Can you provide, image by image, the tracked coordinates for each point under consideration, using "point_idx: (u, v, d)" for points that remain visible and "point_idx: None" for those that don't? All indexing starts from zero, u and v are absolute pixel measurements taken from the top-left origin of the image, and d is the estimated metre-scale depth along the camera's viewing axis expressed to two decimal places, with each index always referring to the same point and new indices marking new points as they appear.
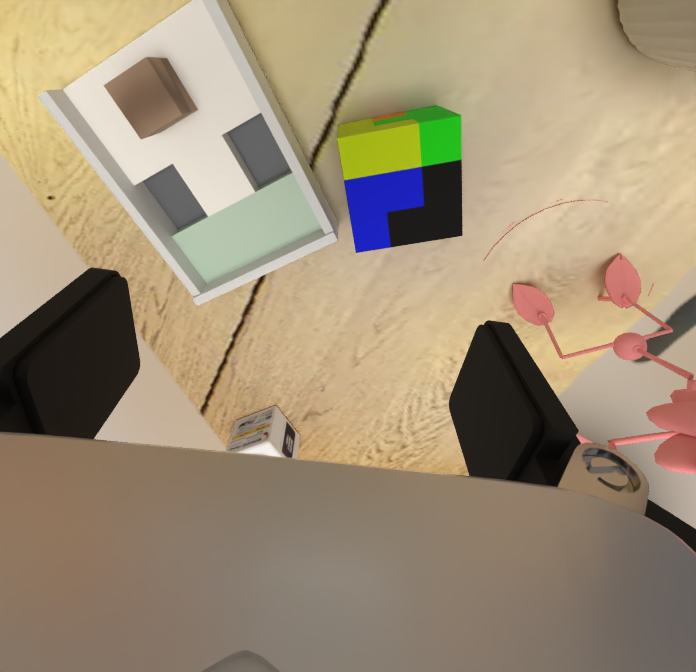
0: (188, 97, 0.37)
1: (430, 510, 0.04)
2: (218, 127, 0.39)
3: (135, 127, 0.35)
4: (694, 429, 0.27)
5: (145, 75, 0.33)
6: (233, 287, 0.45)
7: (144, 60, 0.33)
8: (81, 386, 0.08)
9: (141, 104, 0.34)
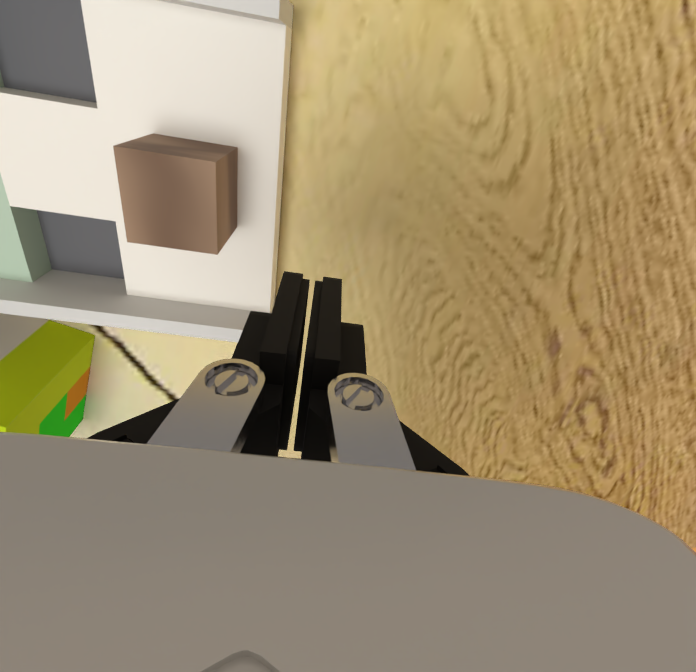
0: None
1: (430, 510, 0.04)
2: None
3: (135, 154, 0.18)
4: None
5: (197, 234, 0.20)
6: None
7: (214, 248, 0.21)
8: (296, 373, 0.10)
9: (163, 195, 0.19)
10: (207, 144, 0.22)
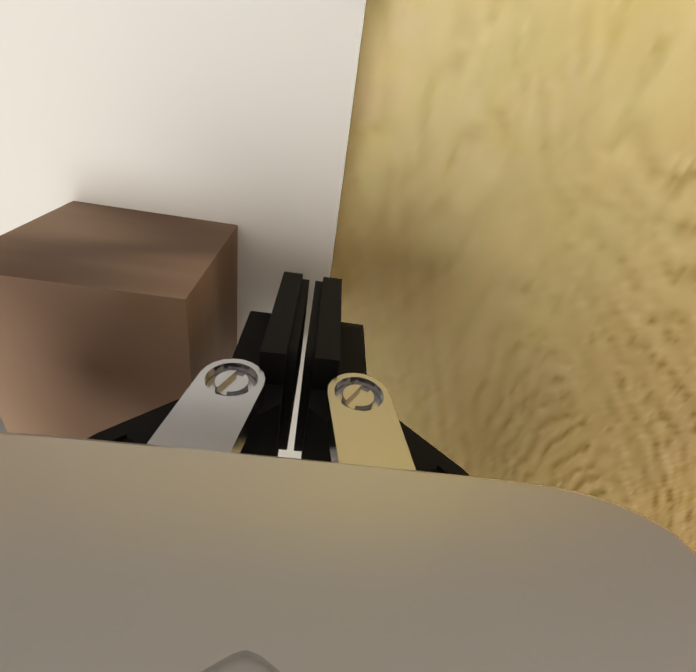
0: None
1: (429, 510, 0.04)
2: None
3: None
4: None
5: None
6: None
7: None
8: (296, 373, 0.10)
9: (73, 360, 0.09)
10: (178, 224, 0.11)
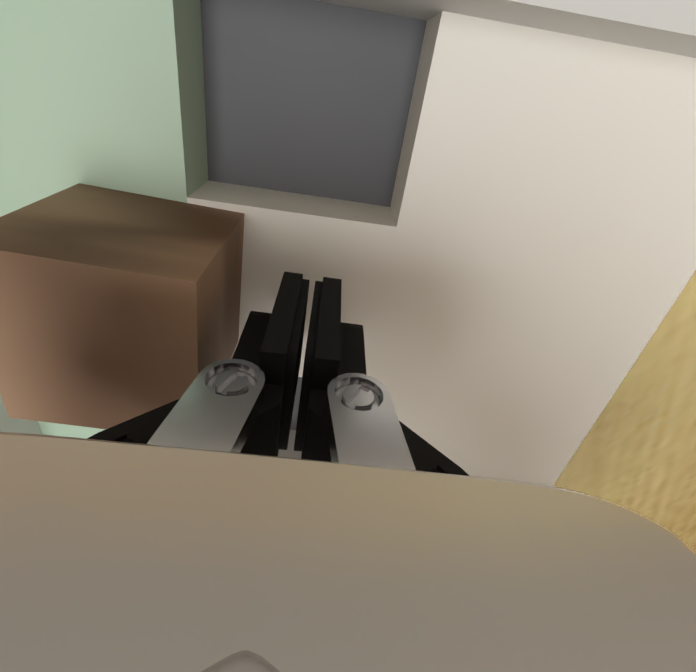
0: None
1: (430, 510, 0.04)
2: None
3: (2, 261, 0.08)
4: None
5: None
6: None
7: None
8: (296, 373, 0.10)
9: (79, 341, 0.09)
10: (185, 210, 0.11)
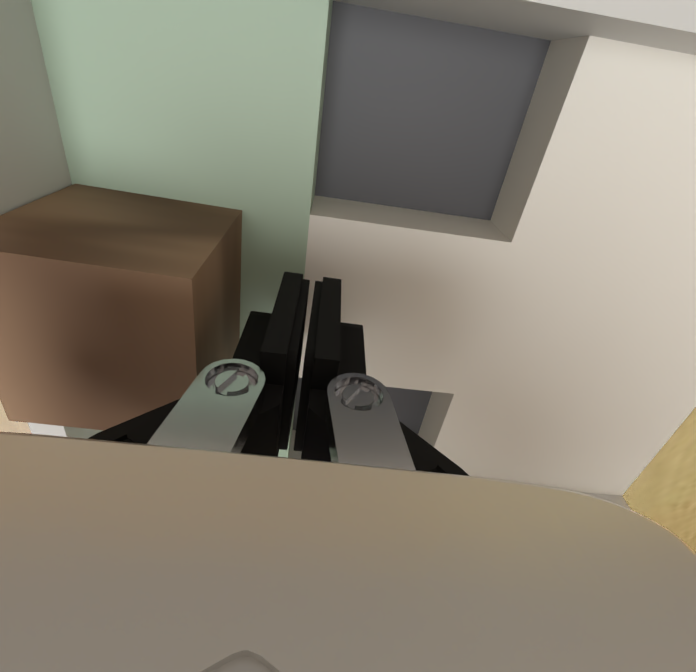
0: None
1: (429, 510, 0.04)
2: (470, 396, 0.15)
3: None
4: None
5: None
6: None
7: None
8: None
9: (76, 342, 0.09)
10: (182, 208, 0.11)
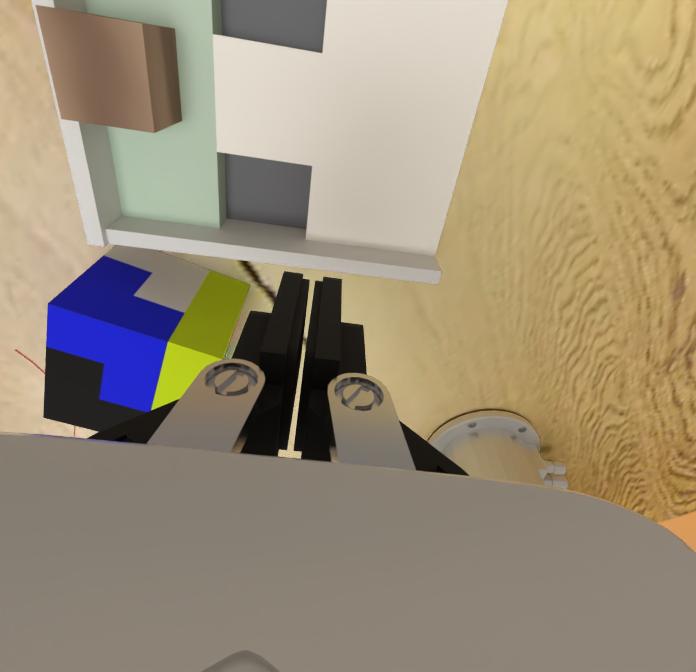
0: None
1: (429, 510, 0.04)
2: (322, 168, 0.26)
3: (59, 15, 0.18)
4: None
5: (131, 109, 0.20)
6: None
7: (151, 126, 0.21)
8: (296, 373, 0.10)
9: (93, 63, 0.19)
10: None
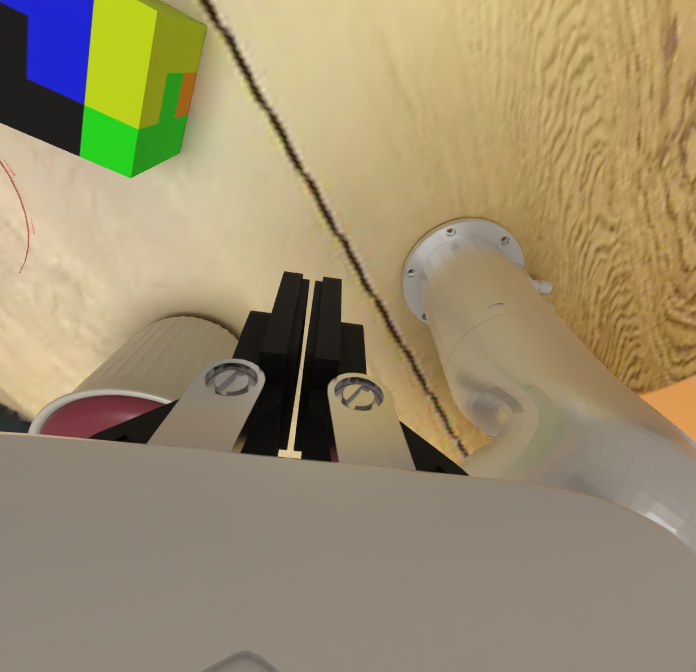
0: None
1: (430, 511, 0.04)
2: None
3: None
4: None
5: None
6: None
7: None
8: (296, 373, 0.10)
9: None
10: None
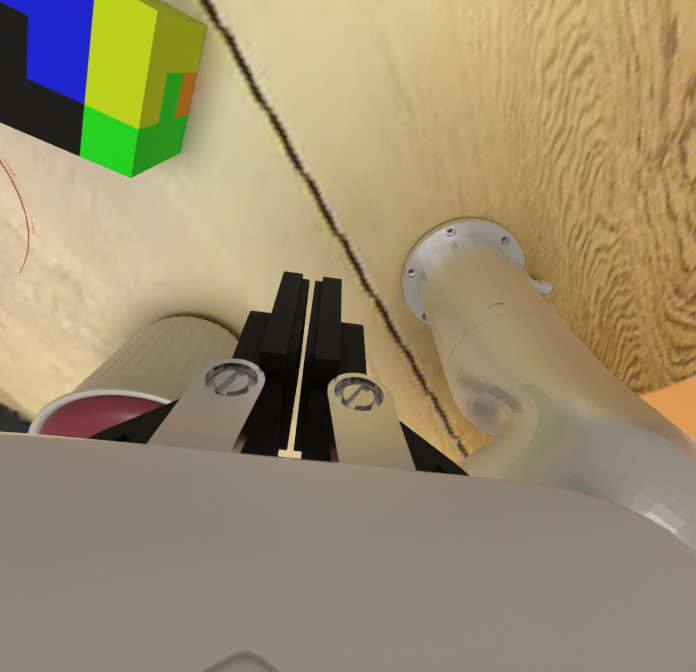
0: None
1: (430, 510, 0.04)
2: None
3: None
4: None
5: None
6: None
7: None
8: (296, 373, 0.10)
9: None
10: None
